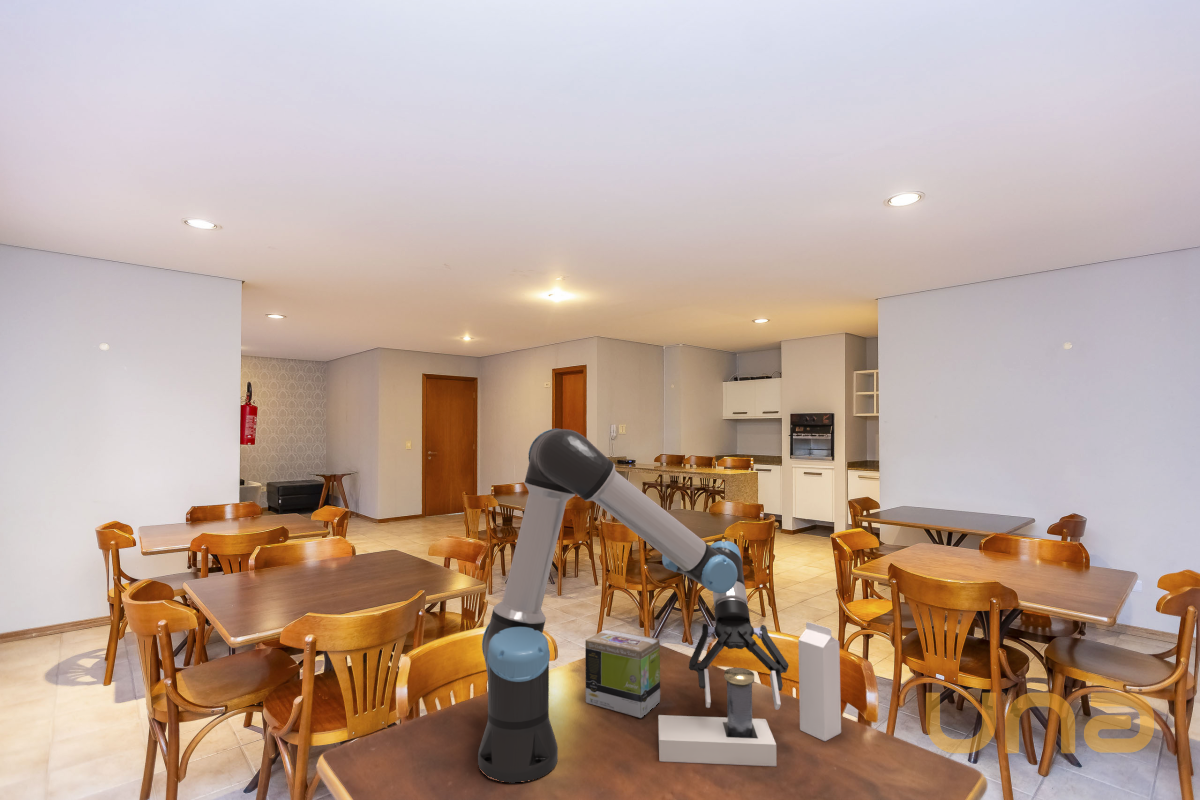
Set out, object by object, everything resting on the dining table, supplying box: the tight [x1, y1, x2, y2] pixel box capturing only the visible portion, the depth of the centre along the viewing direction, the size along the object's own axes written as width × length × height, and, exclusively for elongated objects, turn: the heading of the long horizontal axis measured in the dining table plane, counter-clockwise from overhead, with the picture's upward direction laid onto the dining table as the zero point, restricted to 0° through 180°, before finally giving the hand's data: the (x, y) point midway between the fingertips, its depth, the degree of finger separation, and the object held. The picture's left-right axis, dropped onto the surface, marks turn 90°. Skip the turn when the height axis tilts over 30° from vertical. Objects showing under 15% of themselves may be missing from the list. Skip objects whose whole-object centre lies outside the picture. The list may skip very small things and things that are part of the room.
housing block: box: [657, 714, 778, 767], centre depth 119 cm, size 22×10×4 cm, turn 85°
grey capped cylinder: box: [723, 667, 755, 738], centre depth 118 cm, size 6×6×15 cm
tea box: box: [584, 628, 661, 719], centre depth 139 cm, size 15×10×15 cm, turn 58°
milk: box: [798, 621, 842, 742], centre depth 126 cm, size 6×6×22 cm
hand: (743, 706), depth 119 cm, fingers open, 13 cm apart
